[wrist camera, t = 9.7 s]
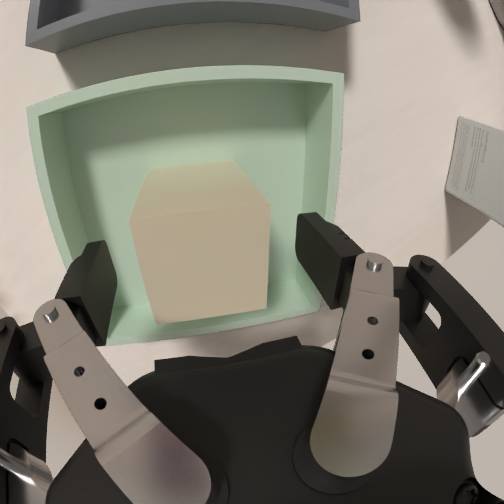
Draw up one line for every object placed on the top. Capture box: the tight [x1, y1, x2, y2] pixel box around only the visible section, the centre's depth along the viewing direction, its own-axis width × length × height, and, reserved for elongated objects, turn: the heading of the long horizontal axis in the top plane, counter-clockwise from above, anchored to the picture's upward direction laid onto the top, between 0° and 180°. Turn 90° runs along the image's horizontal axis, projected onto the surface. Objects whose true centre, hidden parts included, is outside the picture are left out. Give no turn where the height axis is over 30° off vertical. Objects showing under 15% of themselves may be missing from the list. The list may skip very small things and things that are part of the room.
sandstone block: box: [129, 160, 271, 324], centre depth 12 cm, size 4×4×6 cm
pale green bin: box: [27, 65, 344, 346], centre depth 14 cm, size 14×14×4 cm
